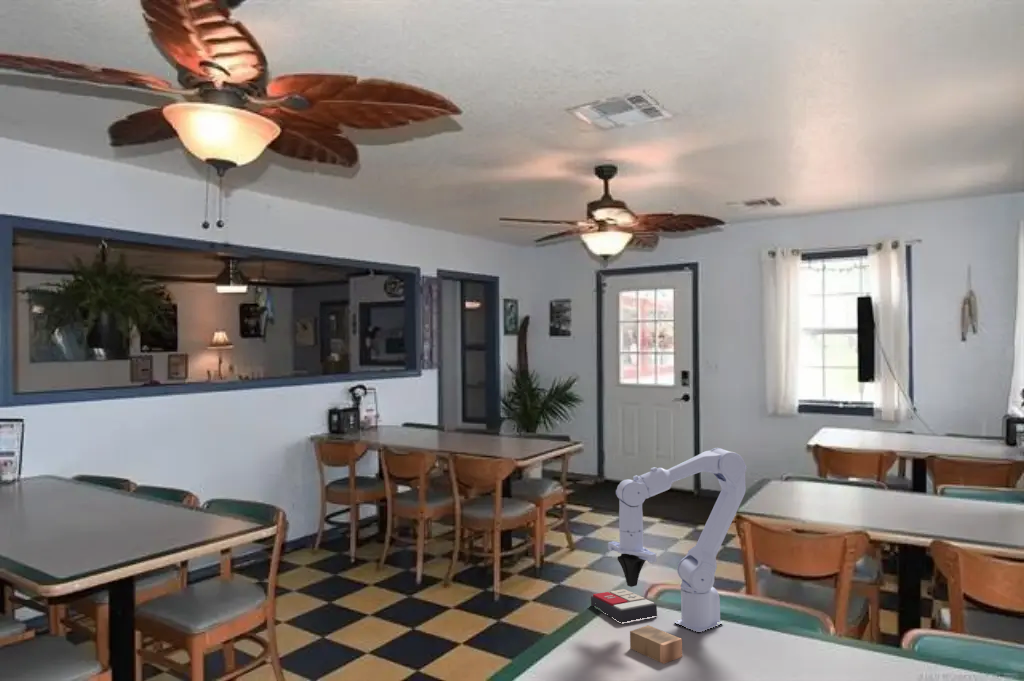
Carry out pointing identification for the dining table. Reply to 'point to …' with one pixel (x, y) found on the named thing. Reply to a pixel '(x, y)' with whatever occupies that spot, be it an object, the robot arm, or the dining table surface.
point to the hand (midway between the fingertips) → (632, 585)
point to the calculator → (624, 605)
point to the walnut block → (656, 644)
